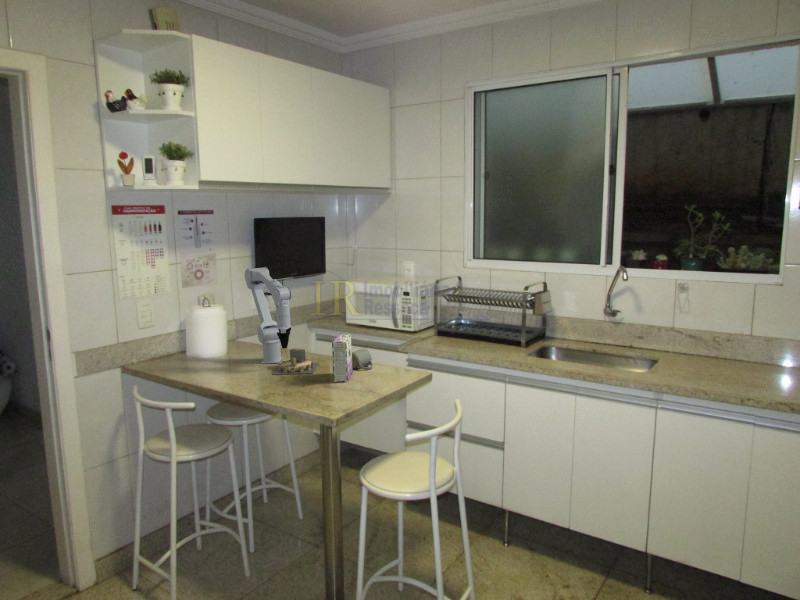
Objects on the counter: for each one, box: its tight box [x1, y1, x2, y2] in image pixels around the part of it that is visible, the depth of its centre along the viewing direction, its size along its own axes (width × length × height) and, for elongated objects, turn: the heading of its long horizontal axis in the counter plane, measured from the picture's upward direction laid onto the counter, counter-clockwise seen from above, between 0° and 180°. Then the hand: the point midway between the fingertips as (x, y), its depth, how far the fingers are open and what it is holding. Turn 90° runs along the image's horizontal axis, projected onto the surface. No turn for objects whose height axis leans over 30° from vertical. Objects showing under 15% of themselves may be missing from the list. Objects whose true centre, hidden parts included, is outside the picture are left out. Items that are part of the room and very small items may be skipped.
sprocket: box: [277, 358, 315, 373], centre depth 236 cm, size 15×15×6 cm
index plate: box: [271, 362, 320, 376], centre depth 237 cm, size 17×17×1 cm
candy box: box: [331, 334, 354, 383], centre depth 221 cm, size 14×6×16 cm, turn 177°
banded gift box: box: [289, 348, 307, 362], centre depth 240 cm, size 3×6×5 cm, turn 64°
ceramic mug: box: [352, 347, 374, 371], centre depth 235 cm, size 11×8×8 cm
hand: (285, 346), depth 239 cm, fingers open, 7 cm apart
